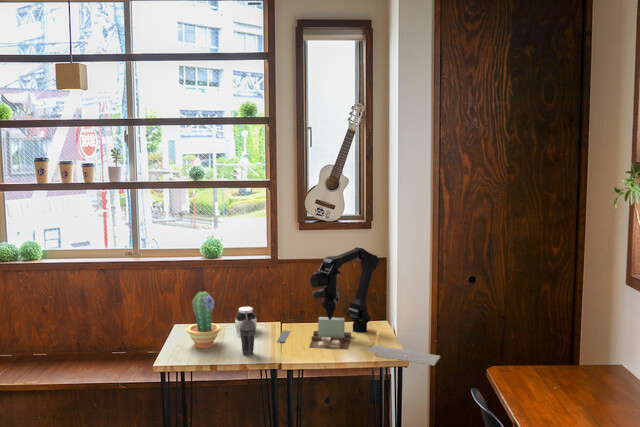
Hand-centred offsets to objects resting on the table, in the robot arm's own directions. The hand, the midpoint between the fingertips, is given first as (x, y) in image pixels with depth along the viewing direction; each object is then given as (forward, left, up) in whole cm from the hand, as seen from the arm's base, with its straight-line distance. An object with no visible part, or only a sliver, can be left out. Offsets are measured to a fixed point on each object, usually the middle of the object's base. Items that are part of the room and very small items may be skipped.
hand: (330, 316), depth 284 cm
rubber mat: (+18, -2, -12) cm, 21 cm away
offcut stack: (0, +9, -11) cm, 14 cm away
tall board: (0, 0, -11) cm, 11 cm away
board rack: (0, +4, -12) cm, 12 cm away
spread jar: (+43, -6, -12) cm, 45 cm away
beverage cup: (+35, +22, -12) cm, 43 cm away
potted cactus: (+58, +13, -12) cm, 60 cm away
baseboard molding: (-33, +16, -13) cm, 39 cm away
